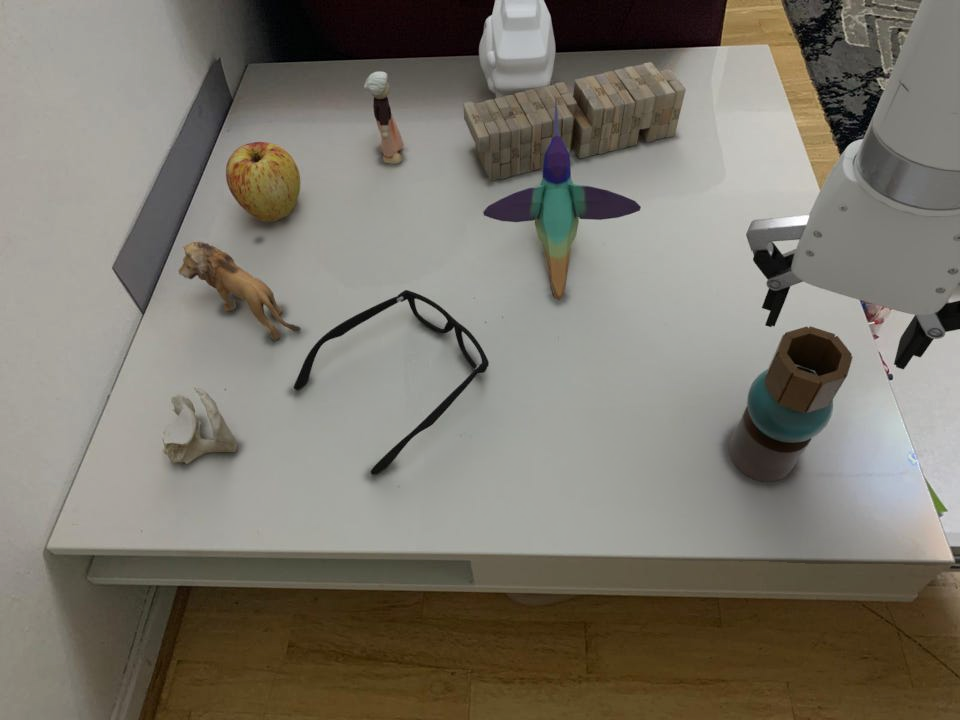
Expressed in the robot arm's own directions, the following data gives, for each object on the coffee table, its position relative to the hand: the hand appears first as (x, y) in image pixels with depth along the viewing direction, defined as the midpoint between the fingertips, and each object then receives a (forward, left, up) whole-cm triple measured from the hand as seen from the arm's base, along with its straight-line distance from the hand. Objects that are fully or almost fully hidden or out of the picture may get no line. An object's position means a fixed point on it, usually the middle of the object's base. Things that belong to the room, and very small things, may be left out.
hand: (835, 333), depth 57 cm
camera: (+50, -44, -20) cm, 69 cm away
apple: (+69, -8, -20) cm, 72 cm away
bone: (+54, +25, -20) cm, 62 cm away
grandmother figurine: (+61, -25, -20) cm, 69 cm away
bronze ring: (+1, 0, -8) cm, 8 cm away
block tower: (+38, -37, -20) cm, 57 cm away
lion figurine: (+61, +8, -20) cm, 64 cm away
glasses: (+39, +9, -20) cm, 45 cm away
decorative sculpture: (+32, -18, -20) cm, 42 cm away
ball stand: (+1, 0, -20) cm, 20 cm away
